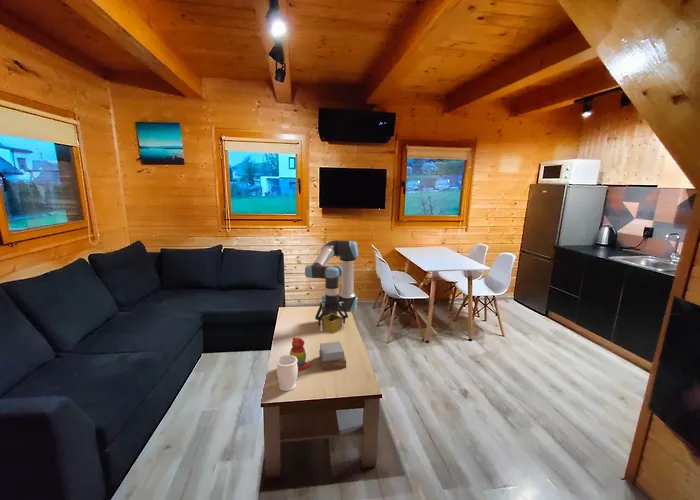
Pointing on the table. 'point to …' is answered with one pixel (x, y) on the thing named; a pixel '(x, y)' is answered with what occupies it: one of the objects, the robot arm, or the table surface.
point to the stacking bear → (299, 353)
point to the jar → (287, 372)
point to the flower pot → (331, 323)
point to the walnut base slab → (332, 363)
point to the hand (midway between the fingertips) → (331, 329)
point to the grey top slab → (331, 351)
